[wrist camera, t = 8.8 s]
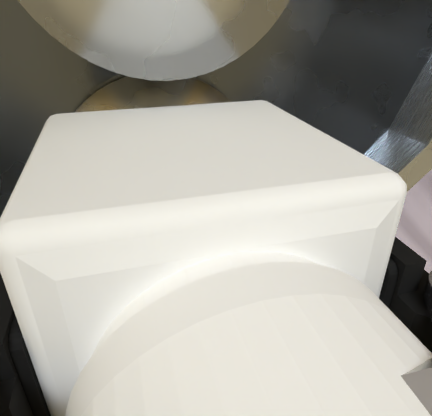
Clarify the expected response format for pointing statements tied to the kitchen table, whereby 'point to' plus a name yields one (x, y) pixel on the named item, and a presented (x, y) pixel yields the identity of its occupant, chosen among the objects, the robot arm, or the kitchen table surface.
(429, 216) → the kitchen table surface
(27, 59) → the carrier
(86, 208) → the medicine bottle
